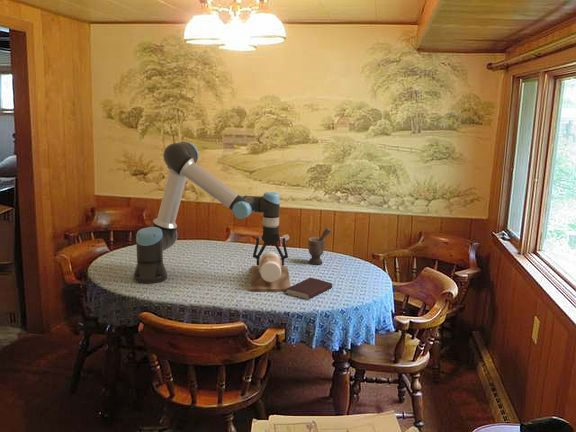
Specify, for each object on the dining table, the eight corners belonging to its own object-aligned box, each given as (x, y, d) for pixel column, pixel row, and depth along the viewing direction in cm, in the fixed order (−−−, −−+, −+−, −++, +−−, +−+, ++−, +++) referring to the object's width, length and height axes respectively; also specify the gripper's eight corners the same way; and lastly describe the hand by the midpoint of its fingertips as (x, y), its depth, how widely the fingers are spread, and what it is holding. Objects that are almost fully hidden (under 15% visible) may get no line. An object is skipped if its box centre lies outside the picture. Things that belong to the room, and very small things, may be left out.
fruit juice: (256, 268, 237) (257, 252, 264) (266, 286, 239) (266, 268, 266) (274, 258, 236) (273, 243, 264) (285, 276, 238) (282, 259, 266)
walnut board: (250, 291, 235) (250, 288, 235) (251, 267, 271) (251, 265, 270) (290, 291, 236) (291, 289, 236) (287, 268, 272) (287, 265, 271)
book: (332, 289, 242) (332, 282, 242) (309, 300, 227) (309, 293, 226) (309, 284, 250) (309, 277, 249) (285, 294, 234) (285, 287, 234)
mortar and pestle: (330, 262, 285) (331, 225, 281) (328, 266, 276) (330, 229, 272) (308, 260, 286) (310, 224, 283) (306, 265, 278) (307, 227, 274)
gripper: (247, 227, 244) (246, 274, 249) (294, 227, 245) (293, 274, 250) (247, 223, 252) (247, 269, 256) (294, 224, 253) (292, 269, 257)
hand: (270, 271), depth 253 cm, fingers closed on fruit juice, 9 cm apart
